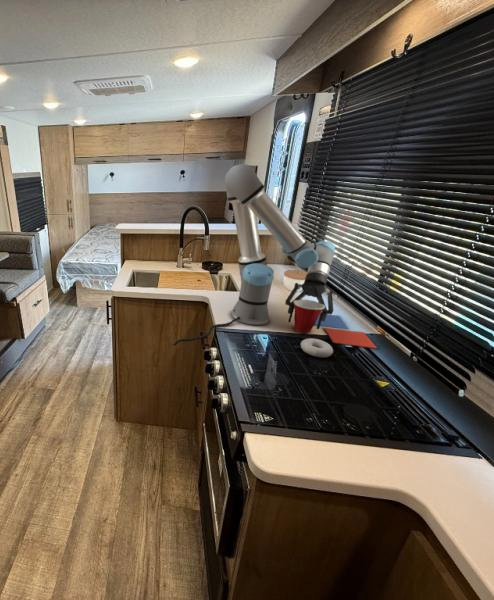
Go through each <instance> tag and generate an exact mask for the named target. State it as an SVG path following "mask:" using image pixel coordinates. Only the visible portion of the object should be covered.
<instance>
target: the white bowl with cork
mask: <svg viewBox="0 0 494 600" xmlns="http://www.w3.org/2000/svg"><path fill="white" fill-rule="evenodd" d="M306 275H307V271H302V270H299V269H288V270H285V271H284V272H283V278H282V284H283V286H284V287H285V289H286V290H287V291H289V292H292V290H293V289H294V286H295V283H298V284H301V285H302V284H303V283H304V281H305V278H306ZM302 291H303V289H302V288H300V289H299V290H297V292H296V293H299V292H302Z"/></svg>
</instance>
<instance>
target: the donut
mask: <svg viewBox="0 0 494 600" xmlns="http://www.w3.org/2000/svg"><path fill="white" fill-rule="evenodd" d="M300 348H301V349H302V351H303V352H304V353H305V354H308V355H310V356H312V357H315V358H322V359H323V358H328V357H331V356H332V355H333V354H334V349H333V346H331V344H329V343H328V342H327V341H324V340H321V339H318V338H305V339H303V340H302V341H301V342H300Z"/></svg>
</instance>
